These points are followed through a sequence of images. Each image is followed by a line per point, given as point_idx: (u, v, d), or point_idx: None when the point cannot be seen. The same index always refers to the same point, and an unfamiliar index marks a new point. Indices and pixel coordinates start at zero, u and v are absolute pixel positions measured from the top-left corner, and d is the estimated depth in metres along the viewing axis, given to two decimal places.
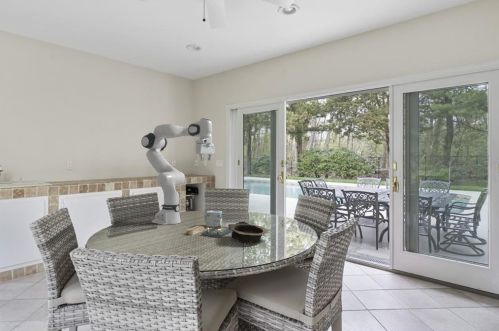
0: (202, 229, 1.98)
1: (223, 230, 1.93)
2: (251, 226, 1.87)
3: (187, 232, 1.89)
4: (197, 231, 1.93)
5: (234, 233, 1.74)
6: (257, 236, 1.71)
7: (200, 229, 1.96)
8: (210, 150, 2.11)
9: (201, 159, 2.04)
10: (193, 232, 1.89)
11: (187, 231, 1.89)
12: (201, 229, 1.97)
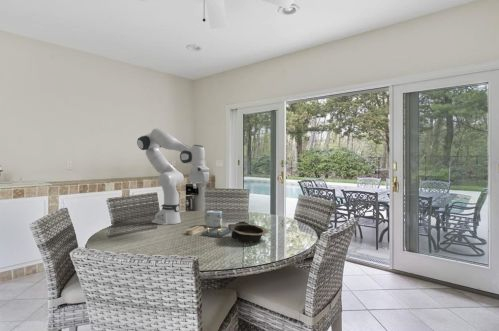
0: (202, 229, 1.98)
1: (223, 230, 1.93)
2: (251, 226, 1.87)
3: (187, 232, 1.89)
4: (197, 231, 1.93)
5: (234, 233, 1.74)
6: (257, 236, 1.71)
7: (200, 229, 1.96)
8: None
9: (203, 188, 1.94)
10: (193, 232, 1.89)
11: (187, 231, 1.89)
12: (201, 229, 1.97)
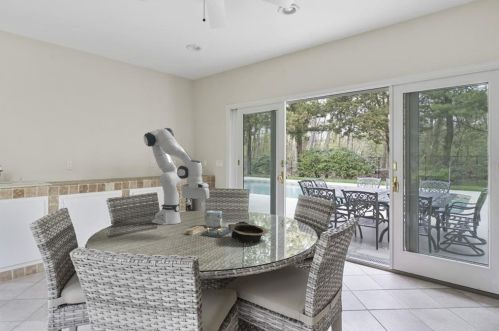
0: (202, 229, 1.98)
1: (223, 230, 1.93)
2: (251, 226, 1.87)
3: (187, 232, 1.89)
4: (197, 231, 1.93)
5: (234, 233, 1.74)
6: (257, 236, 1.71)
7: (200, 229, 1.96)
8: None
9: (202, 204, 1.92)
10: (193, 232, 1.89)
11: (187, 231, 1.89)
12: (201, 229, 1.97)
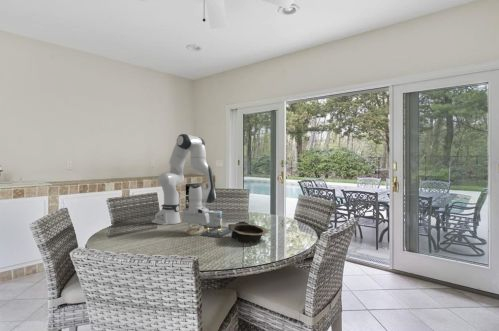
0: (202, 229, 1.98)
1: (223, 230, 1.93)
2: (251, 226, 1.87)
3: (187, 232, 1.89)
4: (197, 231, 1.93)
5: (234, 233, 1.74)
6: (257, 236, 1.71)
7: None
8: None
9: (200, 229, 1.93)
10: (193, 232, 1.89)
11: (187, 231, 1.89)
12: (201, 229, 1.97)
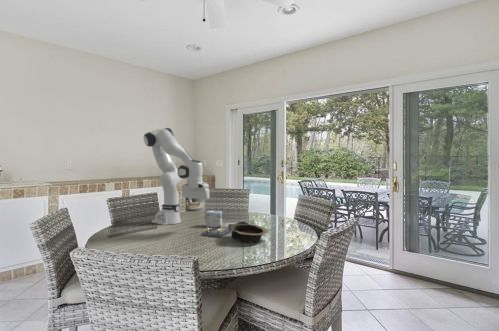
0: (202, 205, 1.98)
1: (223, 230, 1.93)
2: (251, 226, 1.87)
3: (187, 206, 1.89)
4: (197, 206, 1.93)
5: (234, 233, 1.74)
6: (257, 236, 1.71)
7: None
8: None
9: (200, 204, 1.93)
10: (193, 207, 1.89)
11: (187, 205, 1.89)
12: (201, 204, 1.97)
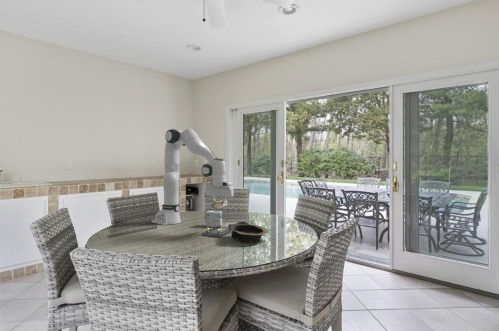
0: (226, 203, 1.97)
1: (223, 230, 1.93)
2: (251, 226, 1.87)
3: (212, 205, 1.88)
4: (222, 204, 1.92)
5: (234, 233, 1.74)
6: (257, 236, 1.71)
7: None
8: None
9: (224, 202, 1.92)
10: (218, 205, 1.88)
11: (212, 204, 1.88)
12: (225, 203, 1.96)
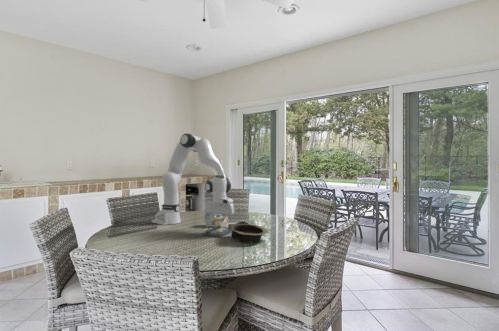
0: (226, 219, 1.98)
1: (223, 230, 1.93)
2: (251, 226, 1.87)
3: (212, 222, 1.89)
4: (222, 221, 1.92)
5: (234, 233, 1.74)
6: (257, 236, 1.71)
7: None
8: None
9: (224, 219, 1.92)
10: (219, 222, 1.88)
11: (212, 221, 1.89)
12: None
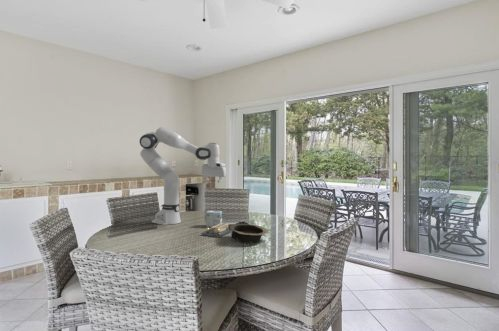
0: (226, 226, 1.98)
1: (223, 230, 1.93)
2: (251, 226, 1.87)
3: (212, 229, 1.89)
4: (221, 228, 1.92)
5: (234, 233, 1.74)
6: (257, 236, 1.71)
7: (224, 226, 1.95)
8: None
9: (219, 181, 2.18)
10: None
11: (212, 228, 1.89)
12: (225, 226, 1.96)
